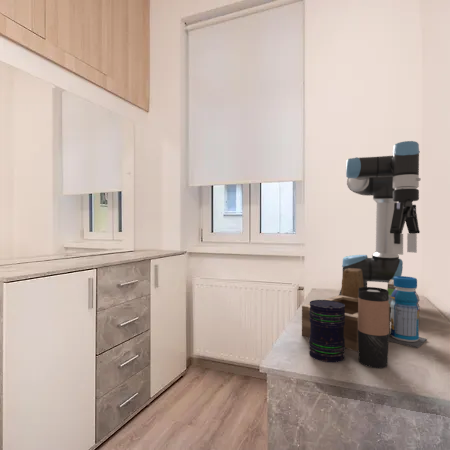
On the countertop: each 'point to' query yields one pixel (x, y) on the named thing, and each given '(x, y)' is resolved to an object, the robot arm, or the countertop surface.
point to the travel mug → (373, 326)
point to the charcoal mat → (411, 344)
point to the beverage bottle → (405, 309)
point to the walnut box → (350, 320)
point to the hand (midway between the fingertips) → (405, 253)
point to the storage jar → (327, 330)
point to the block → (351, 282)
